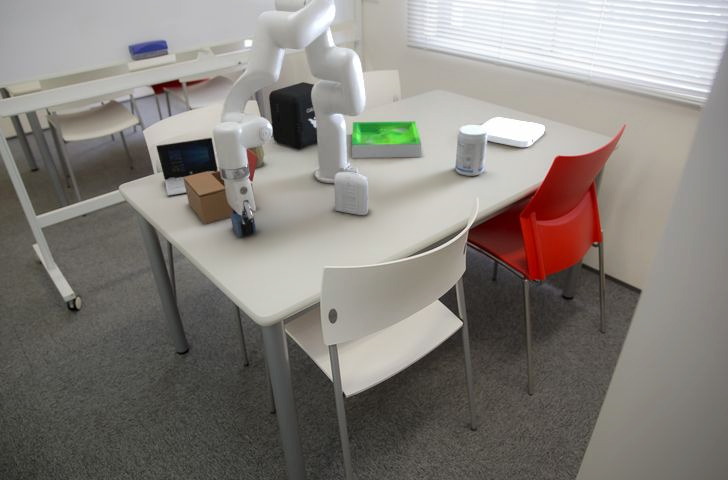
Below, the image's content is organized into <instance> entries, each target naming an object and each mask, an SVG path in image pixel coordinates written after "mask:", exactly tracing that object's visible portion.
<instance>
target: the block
mask: <svg viewBox="0 0 728 480" xmlns="http://www.w3.org/2000/svg"><path fill="white" fill-rule="evenodd" d="M242 212H245V211H242ZM230 216H231V217H230V221H231V228H232V231H233V232H234V233H235V234H236V235H237V236H238V238H242V237H244V236H243V235H242V229H241V223H242V222H241V218H240V215H239V214H238V213H234V214H231V215H230ZM246 216H247V215H243V217H244V218H245V217H246ZM252 221H253V222H252V223H253V229H254V234H256V233H257V229H256V222H255V216H254V215H253V219H252Z"/></svg>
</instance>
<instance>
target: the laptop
mask: <svg viewBox="0 0 728 480" xmlns="http://www.w3.org/2000/svg"><path fill="white" fill-rule="evenodd" d="M155 147H156V151H157V155H158V159H159V163H160V167H161V171H162V176H163V179H164V184H165V191H166V195H167V196H176V195H182V194H187V193H186V188H185V184H184V178H183V177H186V176H190V175H194V174H198V173H203V172H207V171H209V172H210V173H213V172H217V171H219V170H218V169H219V168H218V164H217V159H216V158H217V157H216V154H215V148H214V147H215V146H214V141H213V137H206V138H199V139H198V138H197V139H191V140H185V141H179V142H171V143H164V144H163V143H162V144H157V145H156V146H155Z"/></svg>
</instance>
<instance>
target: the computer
mask: <svg viewBox="0 0 728 480" xmlns="http://www.w3.org/2000/svg"><path fill="white" fill-rule="evenodd" d="M481 126H482V127H485V128H486V129H487V130H488V132H487V134H488V135H487V142H488V141H489V142H492V143H498V144H502V145H507V146H512V147H517V148H528V147H530V146H531V145H532V144H534V143H535V142H536V141H537V140H538V139H539V138H540V137H541V136H543V135H544V134H545V126H544V125H543V124H540V123H535V122H528V121H523V120H518V119H511V118H505V117H499V116H498V117H492V118H490V119H488V120H487V121H485V122H484V123H483V124H481Z"/></svg>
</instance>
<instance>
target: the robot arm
mask: <svg viewBox="0 0 728 480" xmlns="http://www.w3.org/2000/svg"><path fill="white" fill-rule="evenodd" d="M274 8H275V10H267V11H263V12H262V13H260V15H259V16H258V18H257V20H256V23H255V27H254V33H253V37H252V42H251V47H250V50H249V56H248V60H247V65H246V68H245V70H244V72H242V74H241V75H240V76H239V77H238V78H237V79H236V81H235V82H234V83H233V85H232V86H231V87H230V88H229V90H228V91H227V93H226V95H225V97H224V101H223V105H222V110H221V114H220V115H221V116H220V123H217V124H215V126H214V127H213V129H212V134H213V140H214V141H213V142H214V145H215V146H214V147H215V152H216V158H217V163H218V169H219V171H220V174H221V178H222V179H223V180H224V184H225V191H226V197H227V201H228V203H229V205H230V206H231V207H232V213H233V214H234V213H238V214H239V215H240V218H241V222H242V223H241V229H242V235H243V237H248V236H251V235H253V234H255V233H254V229H253V223H252V222H253V221H252V219H253V216H254V215H253V213H252V212H254V213H255V212H256V210H257V207H256V201H254V200H255V195H254V196H253V193H254V190H253V191H252V187H251V183H252V182H251V181H250V180H249V176H250V172H249V165H248V159H247V152H246V150H247V149H248V148H252V147H257V146H261V145H262V146H263V145H265V144H267V143H269V141H270V140H271V138H272V137H273V129H272V122H270V121H269V120H268V119H267V118H265V117H263V116H260V115H255V114H251V113H250V114H249V113H246V112H245V109H246V106H247V103H248V102H249V100H250V99H251V98H252V97H253V95H254V94H256V93H258V92H259V91H261V90H262V89H264V88H267V87H269V86H272V85H273V84H275V83H277V82H278V81H279V80H280V74H281V70H282V67H283V61H284V57H285V52H286V49H291V50H302V49H304V51H305V56H306V59H307V64H308V68H309V71H310V73H311V75H312V77H314V78H315V79H318V80H319V81H317V82H316V83H315V84H314V86H313V88H312V92H311V99H312V104H313V108H314V112H315V117H316V126H317V142H318V143H317V157H318V169H317V170H315V172H314V178H315V179H316V180H317V181H319V182H321V183H326V184H334V179H335V175H336V174H337V173H339V172H353V173H358V174H359V169H358V167H357V166H351V162H350V161H348V149H347V125H346V124H347V123H346V120H345V117H344V116H348V117H357V116H359V115H361V114H362V113H363V112H364V110H365V108H366V100H367V98H366V97H367V96H366V95H367V93H366V88H365V80H364V74H363V68H362V62H361V59H360V56H359V55H358V53H357V52H356V51H355V50H353V49H352V48H349V47H343V46H342V47H341V46H337V45H336V44H335V42H334V38H333V34H332V30H331V27H330V26H331V25H332V23H333V22H334V19H335V18H336V17H335V16H336V12H337V11H336V10H337V9H336V4H335V0H274ZM250 182H251V183H250ZM250 209H251V210H252V211H251V210H250ZM244 210H245V212H242V211H244ZM243 215H247V216H246V217H245V218H244V217H243Z"/></svg>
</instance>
